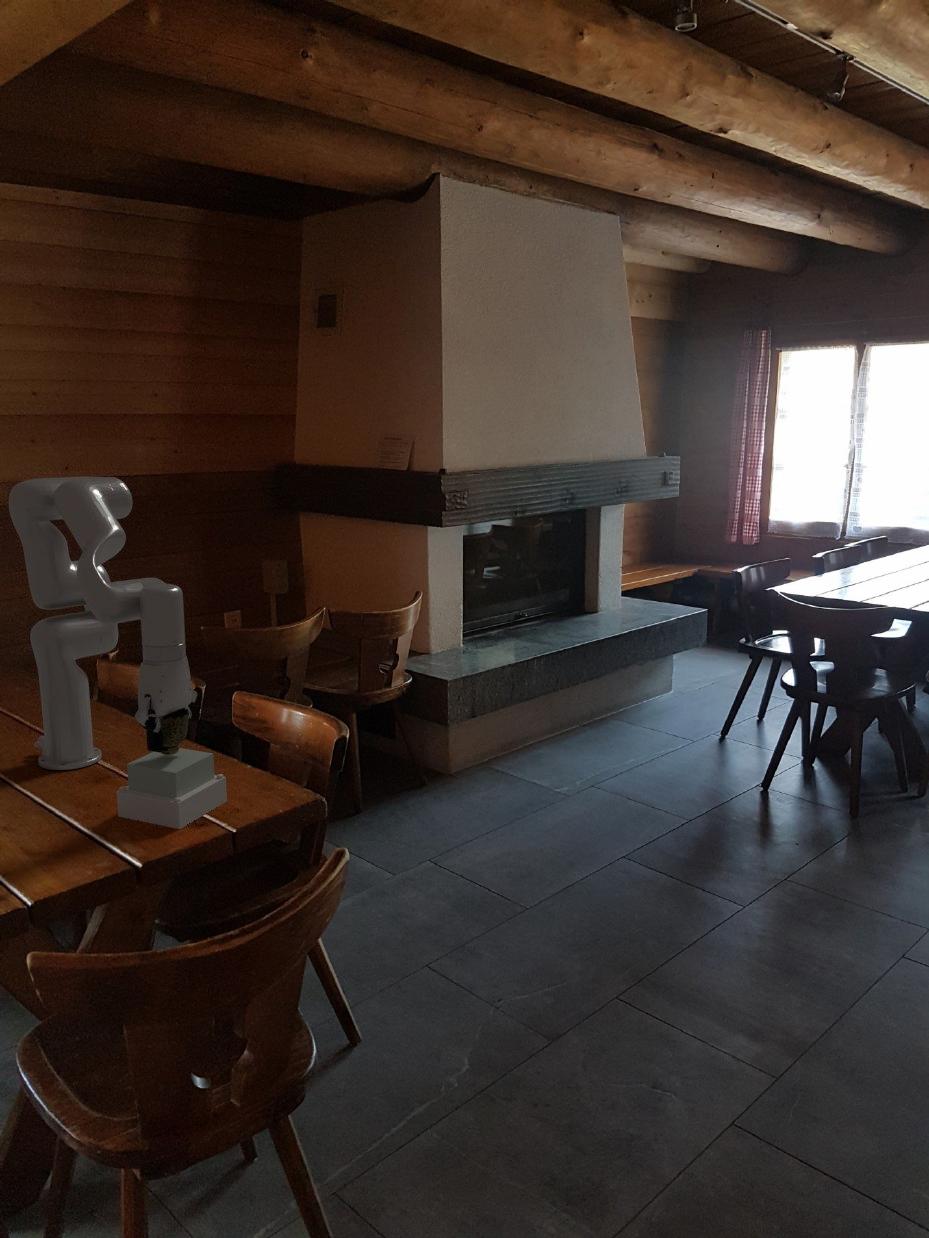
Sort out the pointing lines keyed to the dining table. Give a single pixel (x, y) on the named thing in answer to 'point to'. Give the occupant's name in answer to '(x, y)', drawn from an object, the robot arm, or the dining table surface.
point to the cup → (173, 730)
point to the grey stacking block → (171, 788)
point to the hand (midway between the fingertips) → (169, 743)
